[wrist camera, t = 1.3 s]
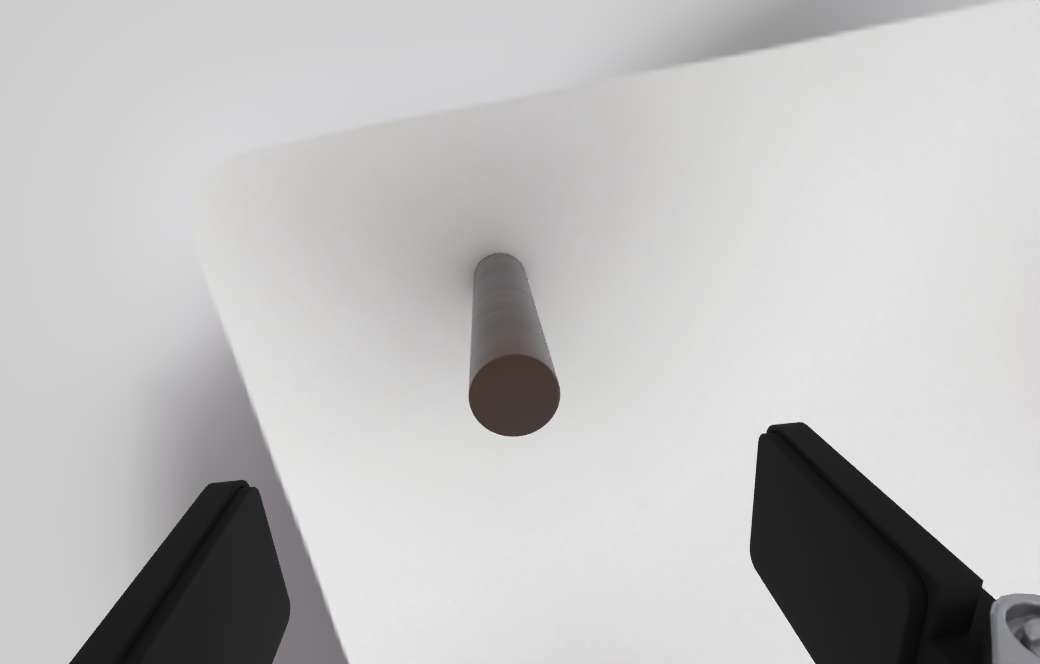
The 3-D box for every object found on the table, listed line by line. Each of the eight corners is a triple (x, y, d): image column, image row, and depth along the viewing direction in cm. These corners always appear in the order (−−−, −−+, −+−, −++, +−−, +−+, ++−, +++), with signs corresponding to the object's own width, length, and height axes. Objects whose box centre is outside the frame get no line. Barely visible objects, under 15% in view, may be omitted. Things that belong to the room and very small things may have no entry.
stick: (471, 255, 25) (463, 359, 14) (523, 250, 25) (558, 350, 14) (476, 305, 26) (474, 441, 15) (527, 301, 26) (562, 432, 15)
